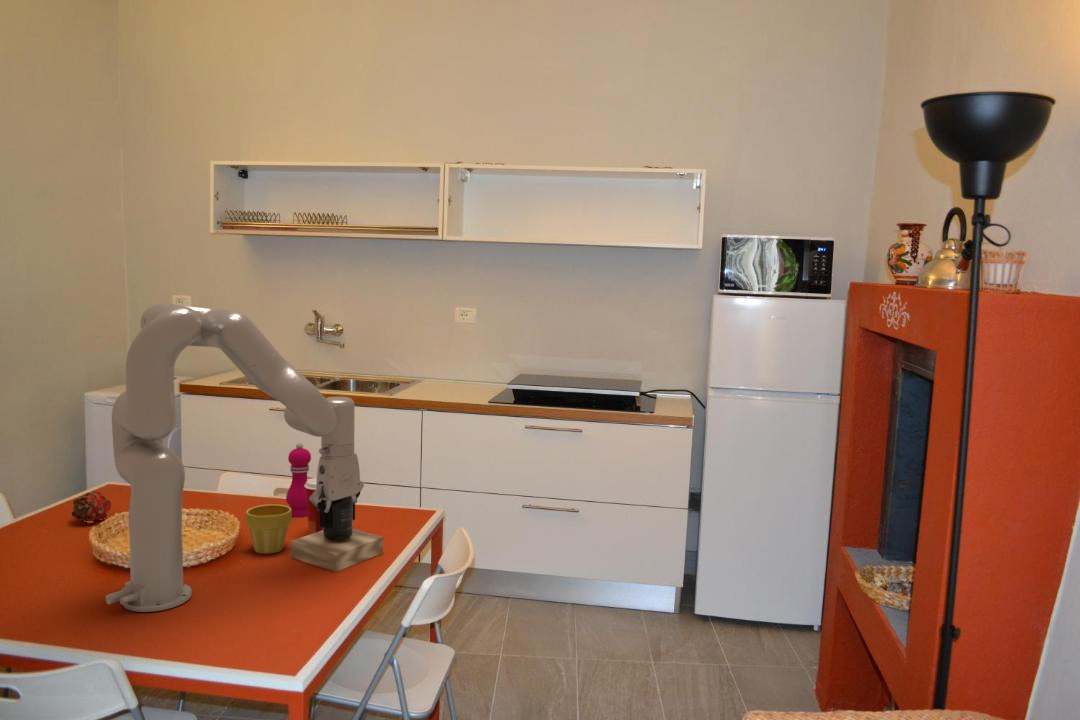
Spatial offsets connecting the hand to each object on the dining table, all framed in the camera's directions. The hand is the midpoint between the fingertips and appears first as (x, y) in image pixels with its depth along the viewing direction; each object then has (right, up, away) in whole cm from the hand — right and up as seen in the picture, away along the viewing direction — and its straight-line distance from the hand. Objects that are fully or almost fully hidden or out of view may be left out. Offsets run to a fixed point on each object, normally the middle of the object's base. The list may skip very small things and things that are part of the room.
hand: (337, 522), depth 183 cm
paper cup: (-9, -6, +16) cm, 19 cm away
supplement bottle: (0, -3, 0) cm, 3 cm away
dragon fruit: (-70, -4, +20) cm, 73 cm away
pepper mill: (-19, -4, +31) cm, 37 cm away
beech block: (0, -8, +1) cm, 8 cm away
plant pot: (-18, -7, +3) cm, 19 cm away
